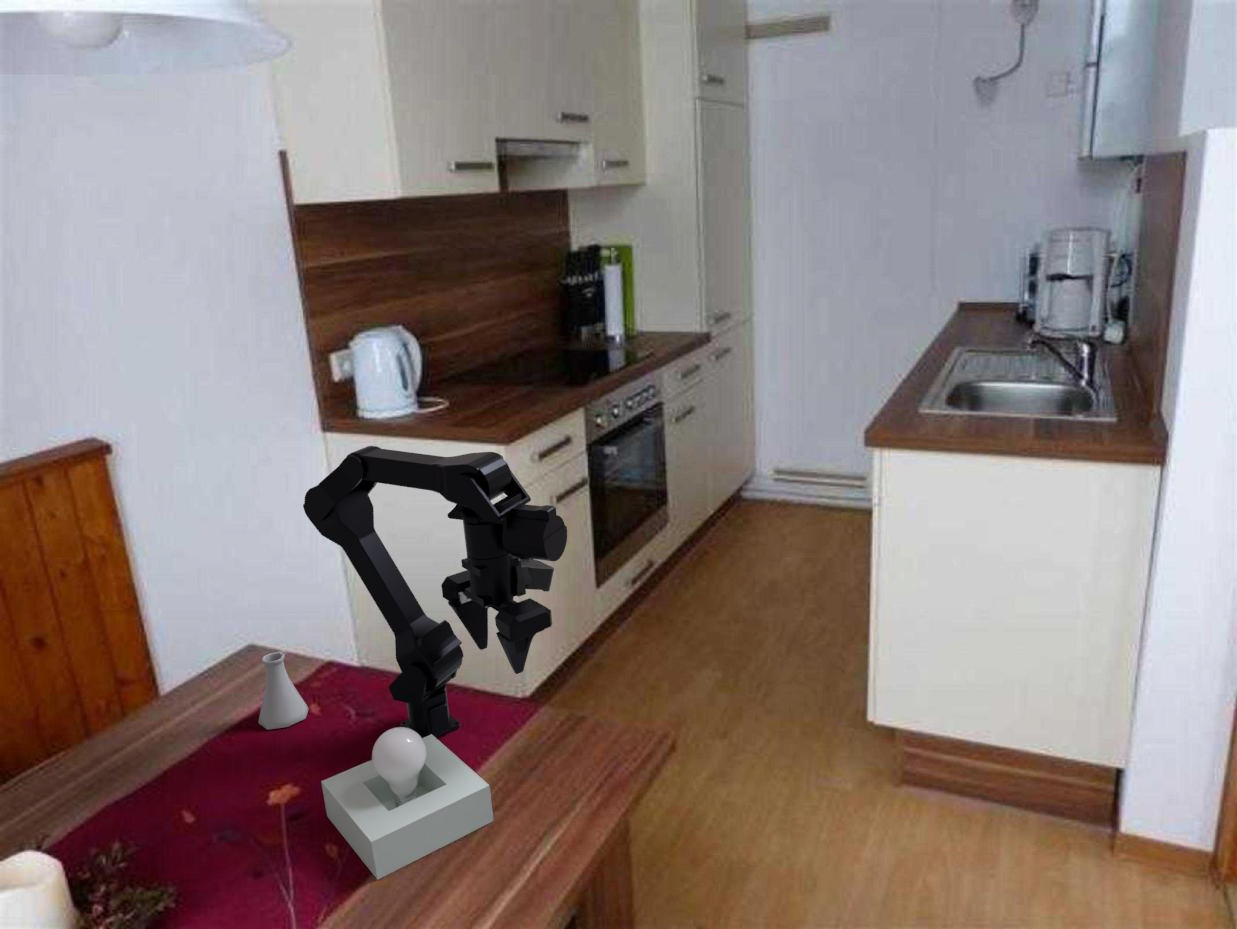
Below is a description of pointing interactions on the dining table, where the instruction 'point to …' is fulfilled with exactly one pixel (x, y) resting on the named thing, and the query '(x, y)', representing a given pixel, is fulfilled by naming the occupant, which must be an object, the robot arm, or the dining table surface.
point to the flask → (280, 696)
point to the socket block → (407, 810)
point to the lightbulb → (400, 761)
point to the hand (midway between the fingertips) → (500, 660)
